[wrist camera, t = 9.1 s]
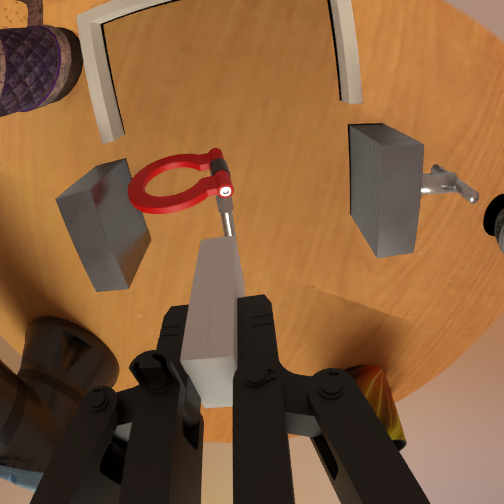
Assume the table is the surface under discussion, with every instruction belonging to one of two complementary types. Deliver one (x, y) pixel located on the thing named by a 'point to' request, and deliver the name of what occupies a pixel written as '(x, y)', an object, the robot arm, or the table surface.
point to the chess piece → (495, 220)
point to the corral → (129, 3)
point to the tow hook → (205, 187)
